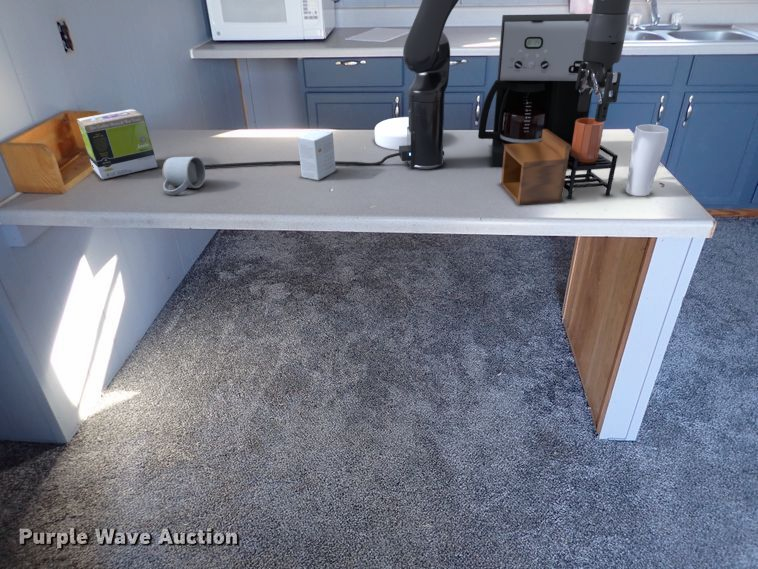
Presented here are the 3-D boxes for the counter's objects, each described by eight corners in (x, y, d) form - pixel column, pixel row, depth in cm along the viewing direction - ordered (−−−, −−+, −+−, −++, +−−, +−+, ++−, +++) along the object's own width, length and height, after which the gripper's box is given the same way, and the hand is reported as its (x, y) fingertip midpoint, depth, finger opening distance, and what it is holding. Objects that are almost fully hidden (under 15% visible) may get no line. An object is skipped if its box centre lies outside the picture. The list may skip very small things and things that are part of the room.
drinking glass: (634, 200, 123) (649, 134, 116) (615, 189, 129) (628, 125, 121) (659, 196, 125) (676, 130, 117) (640, 186, 130) (654, 122, 123)
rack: (568, 199, 125) (574, 158, 120) (549, 182, 134) (554, 143, 129) (609, 196, 126) (618, 155, 121) (588, 179, 135) (594, 141, 130)
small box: (319, 168, 148) (315, 129, 142) (336, 171, 145) (333, 131, 140) (301, 177, 142) (296, 137, 136) (318, 180, 139) (314, 140, 134)
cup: (577, 163, 123) (583, 125, 119) (565, 155, 128) (571, 118, 124) (602, 161, 124) (609, 123, 119) (590, 153, 129) (596, 117, 124)
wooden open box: (519, 205, 123) (525, 148, 116) (500, 184, 134) (505, 131, 127) (561, 201, 124) (570, 145, 117) (539, 181, 135) (546, 128, 128)
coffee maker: (476, 166, 145) (485, 21, 127) (477, 144, 161) (486, 13, 143) (586, 170, 140) (613, 20, 122) (576, 147, 157) (599, 11, 138)
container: (443, 149, 159) (444, 133, 156) (375, 151, 159) (374, 135, 156) (436, 129, 176) (437, 115, 173) (374, 131, 176) (374, 117, 173)
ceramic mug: (180, 179, 143) (173, 150, 139) (208, 181, 141) (202, 152, 137) (156, 195, 134) (148, 165, 130) (185, 197, 132) (178, 167, 128)
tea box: (147, 159, 158) (134, 107, 151) (158, 168, 151) (144, 114, 144) (92, 171, 151) (75, 116, 143) (101, 180, 144) (83, 124, 136)
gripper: (573, 33, 118) (561, 109, 127) (604, 42, 106) (589, 126, 115) (605, 31, 119) (592, 107, 128) (640, 41, 107) (623, 124, 115)
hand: (590, 116), depth 121 cm, fingers open, 8 cm apart
